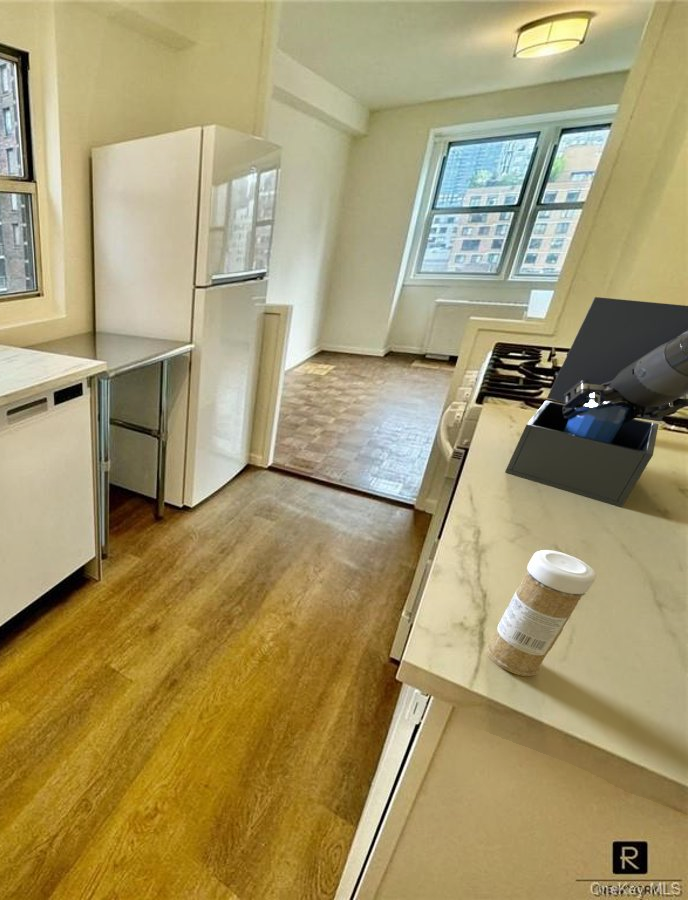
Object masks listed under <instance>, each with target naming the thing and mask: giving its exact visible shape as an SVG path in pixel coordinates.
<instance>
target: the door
mask: <svg viewBox="0 0 688 900" xmlns="http://www.w3.org/2000/svg"><path fill="white" fill-rule="evenodd" d="M686 331H688V305H684V304H673V303H661V302H652V301H643V300H641V301H640V300H630V299H620V298H610V297H609V298H607V297H599V296H595V297H594V298H593V299H592V303H591V304H590V307H589V308H588V311H587V313H586V315H585V317H584V319H583V321H582V323H581V324H580V328H579V329H578V332H577V334H576V335H575V338H574V340H573V342H572V344H571V346H570V348H569V350H568V353H567V355H566V357H565V358H564V361H563V362H562V365H561V367H560V369H559V371H558V373H557V376H556V378H555V380H554V382H553V384H552V386H551V389H550V390H549V393H548V395H547V397H546V399H549V400H553V401H558V402H563V403H565V397H564V394H565V393H566V392H568V391H569V390H570V389H571V388H572V387H574V386H575V385H576V384H577V383H578V382H580V381H581V380H590V384H593V385H601V384H603V383H605V382H609V381H612V380H614V378H615V377H616V376H617V375H618V373H619V372H620V371H621V370H623V369H624V368H626V367H627V366H629V365H630V364H632V363H633V362H635V361H637V360H638V359H640V358H641V357H643V356H644V355H646V354H648V353H649V352H651V351H652V350H654V349H655V348H657V347H659V346H661V345H663V344H665V343H667V342H669V341H671V340H673V339H675V338H676V337H678V336H680V335H681V334H683V333H684V332H686ZM600 396H601V395H600ZM660 407H661V408H662V406H660ZM663 418H664V416H661V417H658V418H651V417H650V415H644V417H641V418H640V419H645V420H650V421H655V422H659V423H660V422H661V421H662V420H663Z"/></svg>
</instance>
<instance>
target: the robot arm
mask: <svg viewBox="0 0 688 900" xmlns="http://www.w3.org/2000/svg"><path fill="white" fill-rule="evenodd" d="M600 395H601V398H602V401H603V402H601V403H600ZM564 397H565V402H564V403H563V404H564V407H563V416H564V418H566V419H570V418H572V417H574V416H576V415H577V414H579V413H581V412H582V411H583V410H587V409H591V408H594V409H596V410H598V409H602V408H606V407H611V406H621V407H626V408H630V410H629V412H628V414H627V415H626V417H625V419H624V421H623V422H622V423H625V422H629V421H630V420H632V419H642V418H641V417H644V415H650V417H651V418H658V417H661V416H663V417H664V416H666V415H669V414H671V413H674V412H676V411H679V410H681V409H683V408H687V407H688V331H686V332H684V333H683V334H681V335H680V336H678V337H676V338H675V339H673V340H671V341H669V342H667V343H665V344H663V345H661V346H659V347H657V348H655V349H654V350H652V351H651V352H649V353H648V354H646V355H644V356H643V357H641V358H640V359H638V360H637V361H635V362H633V363H632V364H630V365H629V366H627V367H626V368H624V369H623V370H621V371H620V372H619V373H618V375H617V376H616V377H615V378H614V380H612V381H609V382H605V383H603V384H601V385H593V384H590V380H581V381H580V382H578V383H577V384H576V385H575V386H574V387H572V388H571V389H570V390H569V391H568V392H566V393H565V394H564ZM586 399H589V403H587V404H585V400H586ZM660 406H662V408H661V407H660Z"/></svg>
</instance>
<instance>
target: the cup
mask: <svg viewBox="0 0 688 900" xmlns="http://www.w3.org/2000/svg"><path fill="white" fill-rule="evenodd" d="M601 402H603V401H602V398H601V396H600V403H601ZM587 403H589V399H586V400H585V404H587ZM629 410H630V408H626V407H621V406H611V407H606V408H602V409H598V410H596V409H594V408H591V409H587V410H583V411H582V412H581V413H579V414H577V415H576V416H574V417H572V418H570V419H569V420H568V422H567V424H566V426H565V428H564V429H563V431H562V432H565V433H570V434H574V435H578V436H582V437H586V438H591V439H595V440H599V441H603V442H607V443H611V442H612V440H613V439H614V437H615V435H616V433H617V431H618V430H619V428H620V426H621V424H622V422H623V421H624V419H625V417H626V415H627V414H628V412H629Z"/></svg>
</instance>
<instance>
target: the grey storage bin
mask: <svg viewBox="0 0 688 900" xmlns="http://www.w3.org/2000/svg"><path fill="white" fill-rule="evenodd" d="M564 404H565V403H560V402H555V401H550V400H545V401H544V402H543V404H542V405H541V406H540V407H539V409H538V410H536V412H535V414H533V416H532V417H531V418H530V420H528V422H527V423H526V425H525V427H524V429H523V431H522V433H521V435H520V437H519V439H518V442H517V444H516V447H515V449H514V451H513V453H512V456H511V457H510V460H509V462H508V464H507V467H506V469H505V471H504V473H505V474H508V475H509V474H510V475H512V476H515V477H519V478H522V479H526V480H529V481H533V482H536V483H539V484H542V485H547V486H549V487H553V488H556V489H558V490H559V489H560V490H562V491H566V492H570V493H572V494H576V495H579V496H582V497H587V498H589V499H593V500H596V501H599V502H603V503H606V504H609V505H612V506H616V507H619V508H623V506H624V504H625V503H626V501H627V499H628V497H629V496H630V494H631V493H632V491H633V489H634V488H635V486H636V484H637V482H638V481H639V480H640V478H641V476H642V474H643V473H644V471H645V469H646V467H647V466H648V464H649V463H650V461H651V460H652V457H653V456H654V452H655V446H656V441H657V437H658V436H657V435H658V430H659V423H656V422H652V421H647V420H641V419H638V418H634V419H632V420H630V421H629V422H625V423H622V424H621V426H620V428H619V430H618V431H617V433H616V435H615V437H614V439H613V440H612V442H611V443H607V442H603V441H599V440H595V439H591V438H586V437H582V436H578V435H574V434H570V433H565V432H562V431H563V429H564V428H565V426H566V424H567V422H568V420H569V419H566V418H564V416H563V407H564Z"/></svg>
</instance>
